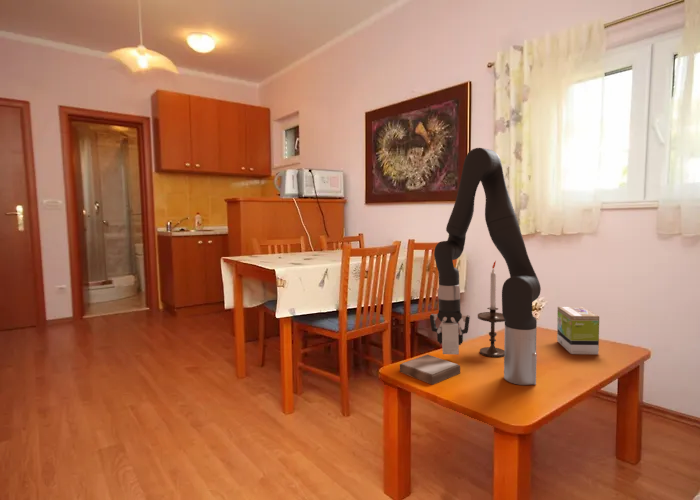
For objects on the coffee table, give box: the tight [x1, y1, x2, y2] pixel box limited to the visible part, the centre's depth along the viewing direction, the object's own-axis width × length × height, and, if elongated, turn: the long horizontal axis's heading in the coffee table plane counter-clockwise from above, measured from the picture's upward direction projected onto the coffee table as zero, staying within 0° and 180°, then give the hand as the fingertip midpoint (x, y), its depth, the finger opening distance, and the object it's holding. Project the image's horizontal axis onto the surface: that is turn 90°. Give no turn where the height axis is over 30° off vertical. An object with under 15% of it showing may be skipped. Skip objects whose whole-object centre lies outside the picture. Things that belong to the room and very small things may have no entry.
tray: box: [399, 354, 461, 386], centre depth 139 cm, size 14×14×3 cm
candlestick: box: [477, 260, 505, 358], centre depth 155 cm, size 11×11×35 cm
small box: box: [441, 323, 460, 355], centre depth 148 cm, size 8×6×10 cm
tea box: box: [556, 306, 600, 355], centre depth 160 cm, size 15×10×15 cm, turn 172°
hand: (450, 343), depth 148 cm, fingers closed on small box, 6 cm apart
